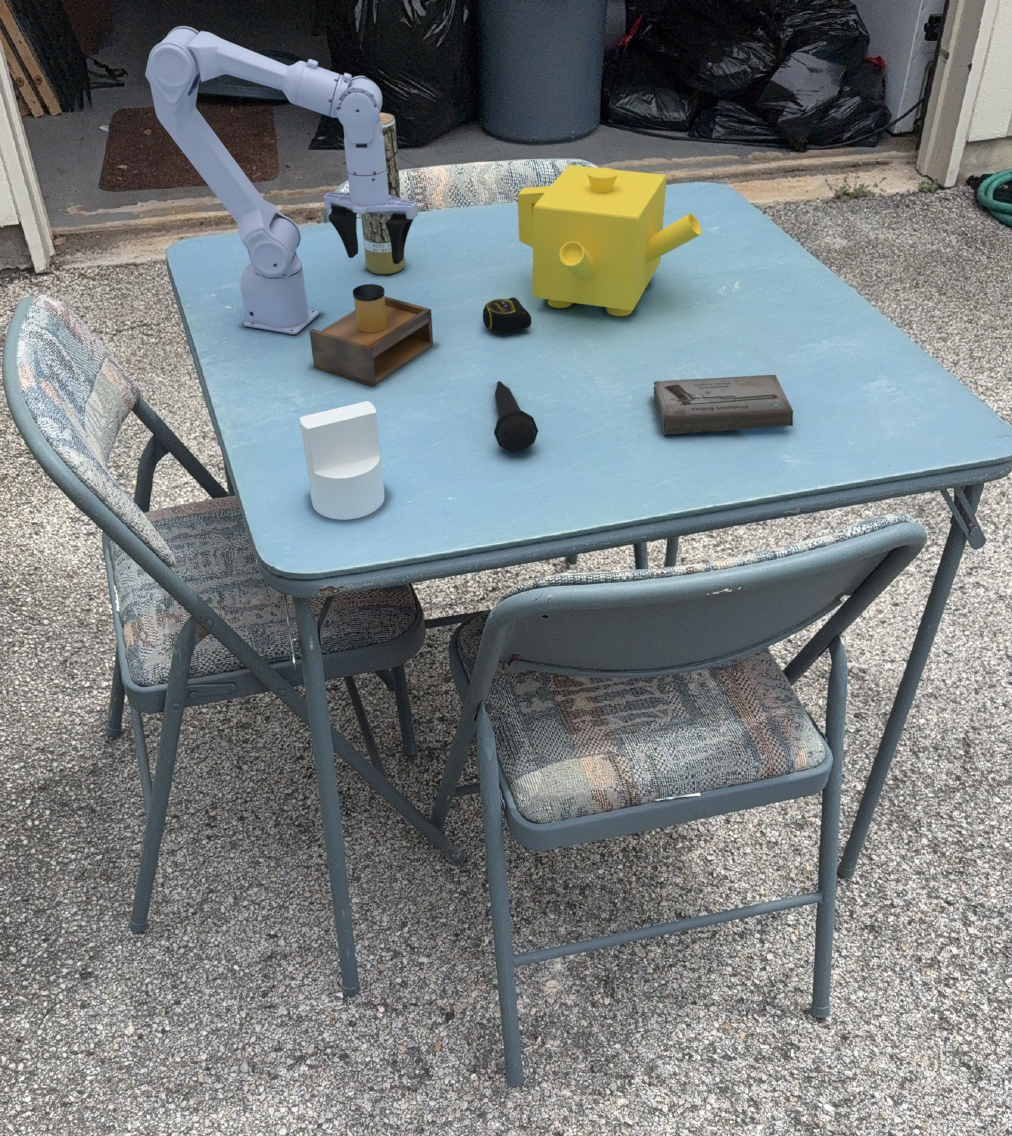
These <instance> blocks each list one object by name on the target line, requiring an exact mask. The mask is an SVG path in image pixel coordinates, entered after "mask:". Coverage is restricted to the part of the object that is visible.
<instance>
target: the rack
mask: <svg viewBox="0 0 1012 1136" xmlns="http://www.w3.org/2000/svg"><path fill="white" fill-rule="evenodd" d="M384 298H385V310H386V322H387V326H386V328H385V329H384V330H382V331H379V332H374V333H366V332H362V331H360V330H358V328H357V323H356V313H355V310H353V311H351V312H350V313H348V314H347V315H345V316H343V317H341V318H340V319H338V320H336V321H334V322H333V323H331V324H330V325H328V326H327V327H325V328H323V329H321V330H318V329H315V328H311V329H310V330H309V331H308V332H309V340H310V347H311V356H312V363H313V368H314V369H317V370H320V371H323V372H326V373H329V374H332V375H336V376H339V377H342V378H345V379H348V380H350V381H354V382H357V383H359V384H363V385H365V386H366V385H367V386H369V387H372V388H373V387H374V386H377V385H378V384H379V383H380V382H382V381H383V380H385V379H386V378H387V377H389V376H391V375H392V374H393V373H395V372H396V371H398V370H400V369H401V368H402V367H404V366H405V365H407V364H408V363H410V362H411V361H412V360H414V359H416V358H417V357H418V356H420V355H422V354H423V353H424V352H426V351H428V350H429V349H430V348H432V347H433V346H434V335H433V334H434V333H433V316H432V309H431V308H428V307H425V306H421V305H417V304H414V303H410V302H407V301H403V300H400V299H397V298H393V297H389V296H385V295H384Z"/></svg>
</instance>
